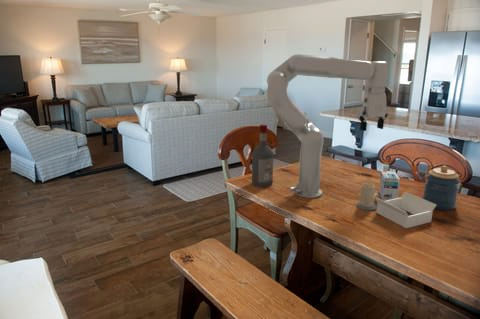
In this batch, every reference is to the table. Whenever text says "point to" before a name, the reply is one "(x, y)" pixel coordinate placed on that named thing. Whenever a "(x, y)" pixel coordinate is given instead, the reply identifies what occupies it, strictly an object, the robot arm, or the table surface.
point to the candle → (367, 194)
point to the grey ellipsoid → (366, 207)
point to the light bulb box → (389, 185)
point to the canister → (442, 188)
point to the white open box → (408, 203)
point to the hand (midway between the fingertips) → (371, 129)
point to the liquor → (262, 161)
